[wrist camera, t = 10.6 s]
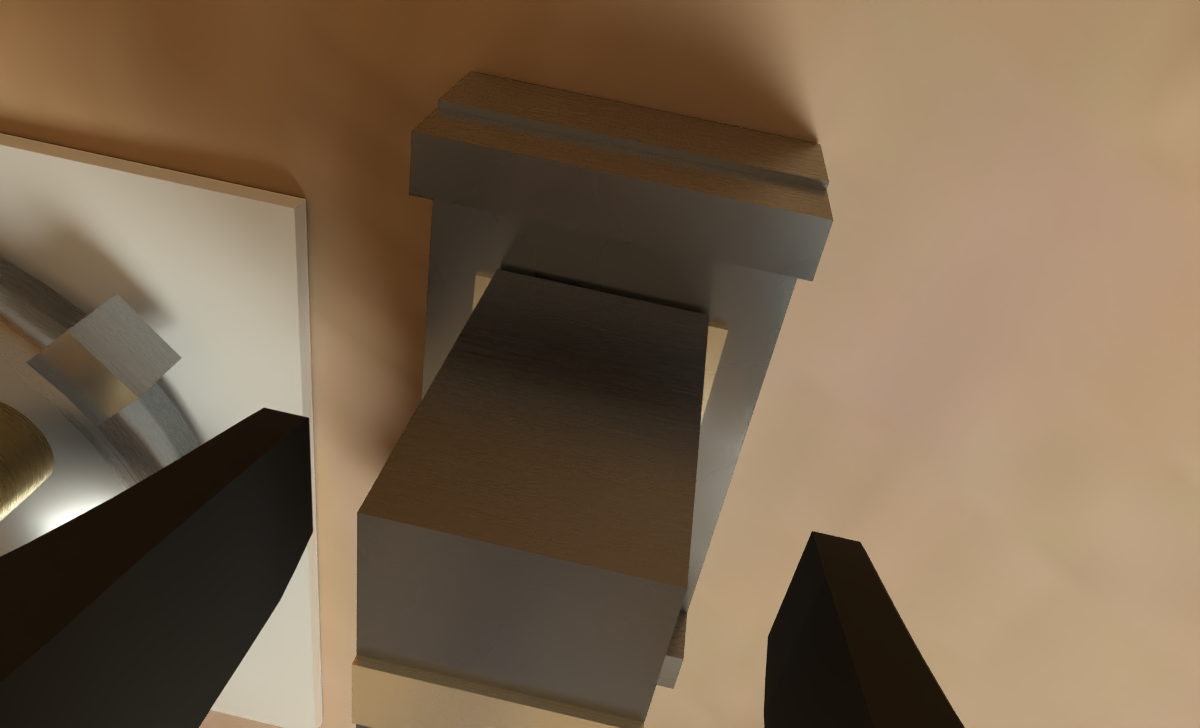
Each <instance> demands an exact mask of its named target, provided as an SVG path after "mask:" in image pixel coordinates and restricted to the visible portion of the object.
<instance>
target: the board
mask: <svg viewBox="0 0 1200 728" xmlns="http://www.w3.org/2000/svg"><path fill="white" fill-rule="evenodd" d="M0 257H1V258H2V259H4V260H6V261H8V262H10V263H12V264H13V265H15V266H17V267H18V268H20V269H22V270H23V271H25V272H26V273H28V274H30V275H31V276H33V277H34V278H36V279H38V280H39V281H41V282H42V283H44V284H46V285H47V286H49V287H51V288H52V289H53V290H55V291H56V292H57V293H59V294H60V295H61V296H63V297H64V298H65V299H67V300H68V301H69V302H71V303H72V304H73V305H75V306H76V307H77V308H79V309H80V310H81V311H83V312H84V313H85V314H87V315H89V314H90V313H92V312H93V311H94V310H96V309H97V308H98V307H100V306H101V305H103V304H104V303H105V302H107V301H108V300H109V299H111V298H112V297H113V296H115V295H116V294H118V295H119V296H120V297H121V298H122V299H123V300H124V301H125V302H126V303H127V304H128V305H129V306H130V307H131V308H132V309H133V310H134V311H135V312H136V313H137V314H138V315H139V316H140V317H141V318H142V319H143V320H144V321H145V322H146V323H147V324H148V325H149V326H150V327H151V328H152V329H153V330H154V331H155V332H156V333H157V334H158V335H159V336H160V337H161V338H162V339H163V340H164V341H165V342H166V343H167V344H168V345H169V346H170V347H171V348H172V349H173V350H174V351H175V352H176V353H177V354H178V355H179V356H180V357H181V359H180V360H179V361H178V362H177V363H176V364H175V365H174V366H173V367H171V368H170V369H169V370H168V371H167V372H166V373H165V374H164V375H163V376H162V377H161V378H160V379H159V380H157V381H156V382H157V384H158V385H159V386H160V387H161V389H162V390H163V391H164V392H165V394H166V395H167V396H168V397H169V399H170V400H171V401H172V403H173V404H174V405H175V406H176V408H177V409H178V410H179V412H180V413H181V415H182V417H183V418H184V420H185V421H186V423H187V424H188V426H189V428H190V429H191V431H192V432H193V434H194V435H195V437H196V438H197V440H198V442H199V444H200V445H202V444H204V443H205V442H207V441H209V440H210V439H212V438H214V437H215V436H217V435H219V434H220V433H222V432H224V431H225V430H227V429H228V428H230V427H232V426H233V425H235V424H237V423H238V422H240V421H242V420H243V419H245V418H247V417H248V416H250V415H252V414H254V413H255V412H257V411H259V410H260V409H262V408H269V409H273V410H278V411H282V412H286V413H291V414H295V415H300V416H304V417H309V425H310V453H311V482H312V511H313V533H312V535H311V537H310V540H309V542H308V544H307V546H306V548H305V550H304V553H303V555H302V557H301V559H300V561H299V563H298V565H297V568H296V570H295V572H294V574H293V576H292V578H291V580H290V582H289V584H288V586H287V588H286V590H285V592H284V594H283V596H282V598H281V600H280V602H279V603H278V605H277V606H276V608H275V610H274V611H273V613H272V614H271V616H270V618H269V619H268V621H267V622H266V624H265V625H264V627H263V629H262V630H261V632H260V633H259V635H258V636H257V638H256V640H255V641H254V643H253V644H252V646H251V647H250V649H249V651H248V652H247V654H246V655H245V657H244V658H243V660H242V661H241V663H240V664H239V666H238V668H237V669H236V671H235V672H234V674H233V675H232V677H231V678H230V680H229V681H228V683H227V685H226V686H225V688H224V689H223V691H222V692H221V694H220V695H219V697H218V698H217V700H216V702H215V703H214V705H213V706H212V708H211V709H210V710H212V711H217V712H221V713H225V714H229V715H233V716H237V717H242V718H246V719H250V720H254V721H258V722H262V723H267V724H271V725H275V726H279V727H283V728H319V727H320V725H321V723H322V690H321V659H320V628H319V597H318V565H317V534H316V503H315V472H314V440H313V409H312V378H311V346H310V315H309V284H308V253H307V221H306V199H303V198H298V197H294V196H289V195H284V194H280V193H275V192H271V191H266V190H261V189H257V188H252V187H247V186H243V185H238V184H234V183H229V182H224V181H220V180H215V179H210V178H206V177H201V176H197V175H192V174H187V173H183V172H178V171H173V170H169V169H164V168H160V167H155V166H150V165H146V164H141V163H136V162H132V161H127V160H123V159H118V158H113V157H109V156H104V155H99V154H95V153H90V152H86V151H81V150H76V149H72V148H67V147H62V146H58V145H53V144H49V143H44V142H39V141H35V140H30V139H25V138H21V137H16V136H11V135H7V134H2V133H0Z"/></svg>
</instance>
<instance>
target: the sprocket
mask: <svg viewBox="0 0 1200 728" xmlns="http://www.w3.org/2000/svg"><path fill="white" fill-rule="evenodd" d="M180 359H181V357H180V356H179V355H178V354H177V353H176V352H175V351H174V350H173V349H172V348H171V347H170V346H169V345H168V344H167V343H166V342H165V341H164V340H163V339H162V338H161V337H160V336H159V335H158V334H157V333H156V332H155V331H154V330H153V329H152V328H151V327H150V326H149V325H148V324H147V323H146V322H145V321H144V320H143V319H142V318H141V317H140V316H139V315H138V314H137V313H136V312H135V311H134V310H133V309H132V308H131V307H130V306H129V305H128V304H127V303H126V302H125V301H124V300H123V299H122V298H121V297H120V296H119V295H118V294H116V295H115V296H113V297H112V298H111V299H109V300H108V301H107V302H105V303H104V304H103V305H101V306H100V307H98V308H97V309H96V310H94V311H93V312H92V313H90V314H89V315H87V314H85V313H84V312H83V311H81V310H80V309H79V308H77V307H76V306H75V305H73V304H72V303H71V302H69V301H68V300H67V299H65V298H64V297H63V296H61V295H60V294H59V293H57V292H56V291H55V290H53V289H52V288H51V287H49V286H47V285H46V284H44V283H42V282H41V281H39V280H38V279H36V278H34V277H33V276H31V275H30V274H28V273H26V272H25V271H23V270H22V269H20V268H18V267H17V266H15V265H13V264H12V263H10V262H8V261H6V260H4V259H2V258H1V257H0V556H2V555H4V554H7V553H9V552H11V551H13V550H15V549H17V548H19V547H21V546H23V545H25V544H27V543H29V542H31V541H32V540H34V539H36V538H38V537H40V536H42V535H44V534H45V533H47V532H49V531H51V530H53V529H55V528H57V527H59V526H60V525H62V524H64V523H66V522H68V521H70V520H72V519H74V518H75V517H77V516H79V515H81V514H83V513H85V512H87V511H89V510H90V509H92V508H94V507H96V506H98V505H100V504H102V503H104V502H105V501H107V500H109V499H111V498H113V497H114V496H116V495H118V494H120V493H121V492H123V491H125V490H126V489H128V488H130V487H132V486H133V485H135V484H137V483H138V482H140V481H142V480H144V479H145V478H147V477H149V476H150V475H152V474H154V473H156V472H157V471H159V470H161V469H162V468H164V467H166V466H167V465H169V464H171V463H172V462H174V461H176V460H177V459H179V458H181V457H182V456H184V455H186V454H187V453H189V452H191V451H192V450H194V449H196V448H197V447H199V446H200V444H199V442H198V440H197V438H196V437H195V435H194V434H193V432H192V431H191V429H190V428H189V426H188V424H187V423H186V421H185V420H184V418H183V417H182V415H181V413H180V412H179V410H178V409H177V408H176V406H175V405H174V404H173V403H172V401H171V400H170V399H169V397H168V396H167V395H166V394H165V392H164V391H163V390H162V389H161V387H160V386H159V385H158V384H157V382H156V381H157V380H159V379H160V378H161V377H162V376H163V375H164V374H165V373H166V372H167V371H168V370H169V369H170V368H171V367H173V366H174V365H175V364H176V363H177V362H178V361H179V360H180Z"/></svg>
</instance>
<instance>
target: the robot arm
mask: <svg viewBox="0 0 1200 728" xmlns="http://www.w3.org/2000/svg"><path fill="white" fill-rule="evenodd" d="M312 533H313V511H312V482H311V453H310V425H309V417H304V416H300V415H295V414H291V413H286V412H282V411H278V410H273V409H269V408H262V409H260V410H259V411H257V412H255V413H254V414H252V415H250V416H248V417H247V418H245V419H243V420H242V421H240V422H238V423H237V424H235V425H233V426H232V427H230V428H228V429H227V430H225V431H224V432H222V433H220V434H219V435H217V436H215V437H214V438H212V439H210V440H209V441H207V442H205V443H204V444H202V445H200V446H199V447H197V448H196V449H194V450H192V451H191V452H189V453H187V454H186V455H184V456H182V457H181V458H179V459H177V460H176V461H174V462H172V463H171V464H169V465H167V466H166V467H164V468H162V469H161V470H159V471H157V472H156V473H154V474H152V475H150V476H149V477H147V478H145V479H144V480H142V481H140V482H138V483H137V484H135V485H133V486H132V487H130V488H128V489H126V490H125V491H123V492H121V493H120V494H118V495H116V496H114V497H113V498H111V499H109V500H107V501H105V502H104V503H102V504H100V505H98V506H96V507H94V508H92V509H90V510H89V511H87V512H85V513H83V514H81V515H79V516H77V517H75V518H74V519H72V520H70V521H68V522H66V523H64V524H62V525H60V526H59V527H57V528H55V529H53V530H51V531H49V532H47V533H45V534H44V535H42V536H40V537H38V538H36V539H34V540H32V541H31V542H29V543H27V544H25V545H23V546H21V547H19V548H17V549H15V550H13V551H11V552H9V553H7V554H4V555H2V556H0V728H199V726H200V725H201V723H202V722H203V720H204V718H205V717H206V715H207V714H208V712H209V711H210V709H211V708H212V706H213V705H214V703H215V702H216V700H217V698H218V697H219V695H220V694H221V692H222V691H223V689H224V688H225V686H226V685H227V683H228V681H229V680H230V678H231V677H232V675H233V674H234V672H235V671H236V669H237V668H238V666H239V664H240V663H241V661H242V660H243V658H244V657H245V655H246V654H247V652H248V651H249V649H250V647H251V646H252V644H253V643H254V641H255V640H256V638H257V636H258V635H259V633H260V632H261V630H262V629H263V627H264V625H265V624H266V622H267V621H268V619H269V618H270V616H271V614H272V613H273V611H274V610H275V608H276V606H277V605H278V603H279V602H280V600H281V598H282V596H283V594H284V592H285V590H286V588H287V586H288V584H289V582H290V580H291V578H292V576H293V574H294V572H295V570H296V568H297V565H298V563H299V561H300V559H301V557H302V555H303V553H304V550H305V548H306V546H307V544H308V542H309V540H310V537H311V535H312ZM764 725H765V728H965V727H964V726H963V724H962V723H961V721H960V719H959V718H958V716H957V714H956V713H955V711H954V710H953V708H952V706H951V705H950V703H949V701H948V699H947V698H946V696H945V694H944V693H943V691H942V689H941V688H940V686H939V684H938V682H937V681H936V679H935V677H934V676H933V674H932V672H931V671H930V669H929V667H928V665H927V664H926V662H925V660H924V659H923V657H922V655H921V653H920V651H919V650H918V648H917V646H916V644H915V643H914V641H913V639H912V637H911V635H910V634H909V632H908V630H907V628H906V626H905V624H904V622H903V621H902V619H901V617H900V615H899V613H898V611H897V610H896V608H895V606H894V604H893V602H892V600H891V598H890V596H889V595H888V593H887V591H886V589H885V587H884V585H883V583H882V581H881V579H880V577H879V575H878V574H877V572H876V570H875V568H874V566H873V564H872V562H871V560H870V558H869V556H868V555H867V553H866V551H865V549H864V548H863V546H862V544H861V543H860V542H858V541H853V540H849V539H845V538H840V537H836V536H831V535H827V534H822V533H818V532H814V531H812V533H811V535H810V538H809V540H808V542H807V545H806V547H805V550H804V552H803V554H802V557H801V559H800V562H799V564H798V566H797V569H796V571H795V574H794V576H793V578H792V581H791V583H790V585H789V588H788V590H787V593H786V595H785V597H784V600H783V602H782V605H781V607H780V609H779V612H778V614H777V617H776V619H775V621H774V624H773V626H772V628H771V631H770V633H769V636H768V646H767V662H766V678H765V700H764Z"/></svg>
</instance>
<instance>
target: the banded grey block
mask: <svg viewBox="0 0 1200 728" xmlns="http://www.w3.org/2000/svg"><path fill="white" fill-rule="evenodd" d="M708 326H709V315H706V314H701V313H697V312H692V311H688V310H683V309H678V308H674V307H669V306H665V305H660V304H655V303H651V302H646V301H642V300H637V299H632V298H628V297H623V296H619V295H614V294H609V293H605V292H600V291H596V290H591V289H586V288H582V287H577V286H573V285H568V284H563V283H559V282H554V281H550V280H545V279H540V278H536V277H531V276H527V275H522V274H517V273H513V272H508V271H504V270H499V269H497V270H496V272H495V274H494V276H493V277H492V279H491V281H490V283H489V284H488V286H487V288H486V290H485V291H484V293H483V295H482V296H481V298H480V300H479V302H478V303H477V305H476V307H475V309H474V310H473V312H472V314H471V316H470V317H469V319H468V321H467V323H466V324H465V326H464V328H463V330H462V331H461V333H460V335H459V337H458V338H457V340H456V342H455V344H454V345H453V347H452V349H451V350H450V352H449V354H448V356H447V357H446V359H445V361H444V363H443V364H442V366H441V368H440V370H439V371H438V373H437V375H436V377H435V378H434V380H433V382H432V384H431V385H430V387H429V389H428V391H427V392H426V394H425V396H424V397H423V399H422V401H421V403H420V404H419V406H418V408H417V410H416V411H415V413H414V415H413V417H412V418H411V420H410V422H409V424H408V425H407V427H406V429H405V431H404V432H403V434H402V436H401V438H400V439H399V441H398V443H397V444H396V446H395V448H394V450H393V451H392V453H391V455H390V457H389V458H388V460H387V462H386V464H385V465H384V467H383V469H382V471H381V472H380V474H379V476H378V478H377V479H376V481H375V483H374V485H373V486H372V488H371V490H370V492H369V493H368V495H367V497H366V498H365V500H364V502H363V504H362V505H361V507H360V509H359V511H358V512H357V655H356V657H355V659H354V661H353V663H352V723H355V724H356V728H644V721H645V718H646V715H647V712H648V709H649V706H650V703H651V699H652V696H653V693H654V690H655V687H656V684H657V681H658V678H659V675H660V672H661V668H662V665H663V662H664V659H665V656H666V653H667V650H668V647H669V644H670V640H671V637H672V634H673V631H674V628H675V625H676V622H677V619H678V616H679V613H680V609H681V606H682V603H683V600H684V597H685V594H686V591H687V586H688V573H689V561H690V549H691V536H692V524H693V511H694V499H695V487H696V474H697V462H698V450H699V437H700V425H701V413H702V400H703V388H704V375H705V363H706V351H707V338H708Z"/></svg>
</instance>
